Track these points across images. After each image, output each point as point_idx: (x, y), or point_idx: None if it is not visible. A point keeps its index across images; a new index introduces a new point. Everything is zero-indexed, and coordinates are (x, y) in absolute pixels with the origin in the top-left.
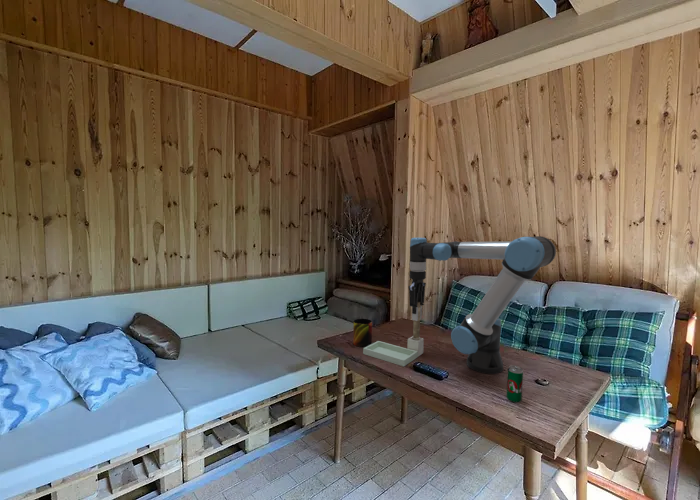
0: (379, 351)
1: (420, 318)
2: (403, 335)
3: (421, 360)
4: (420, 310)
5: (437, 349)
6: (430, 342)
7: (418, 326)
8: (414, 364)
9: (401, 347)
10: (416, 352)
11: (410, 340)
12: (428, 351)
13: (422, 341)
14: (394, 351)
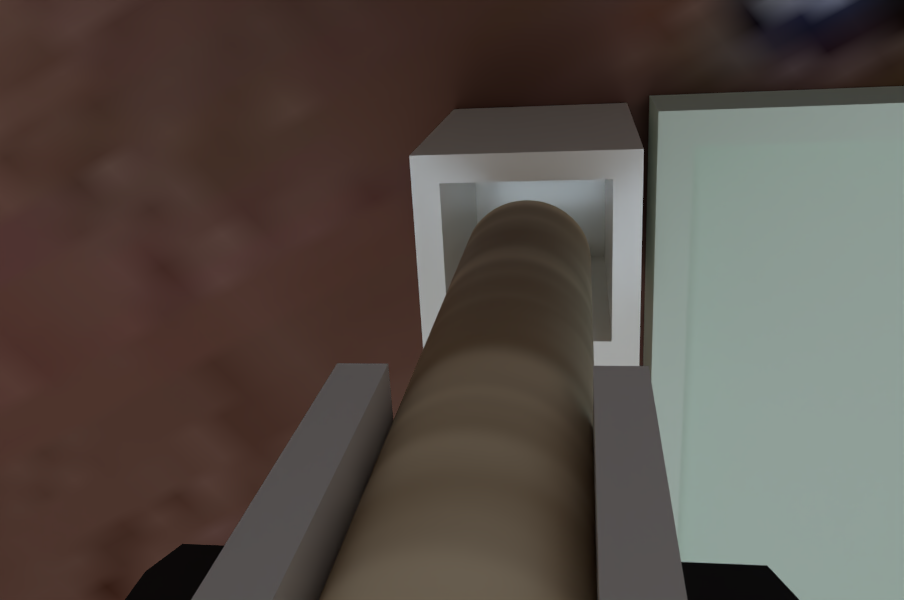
0: (809, 573)
1: (384, 381)
2: (83, 596)
3: (666, 20)
4: (303, 562)
5: (141, 41)
6: (5, 240)
7: (544, 291)
8: (870, 27)
9: (665, 382)
10: (705, 109)
11: (639, 306)
12: (299, 106)
13: (464, 145)
14: (686, 434)
